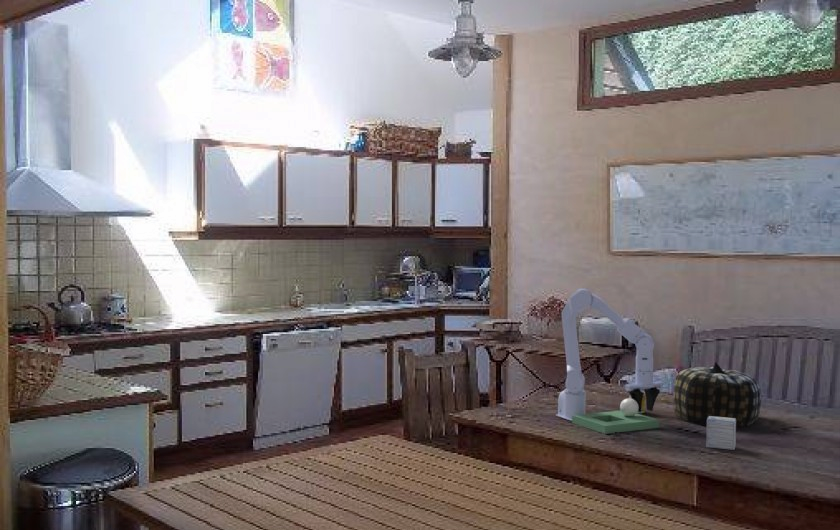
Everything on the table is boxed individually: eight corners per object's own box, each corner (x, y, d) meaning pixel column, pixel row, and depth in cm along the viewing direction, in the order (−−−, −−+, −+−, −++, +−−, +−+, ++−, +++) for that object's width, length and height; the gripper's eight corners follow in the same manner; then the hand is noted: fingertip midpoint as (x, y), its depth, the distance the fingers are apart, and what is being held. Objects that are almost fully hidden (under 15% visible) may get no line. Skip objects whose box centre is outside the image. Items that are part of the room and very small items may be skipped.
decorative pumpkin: (779, 421, 288) (780, 363, 288) (725, 432, 272) (727, 369, 271) (705, 406, 313) (707, 352, 312) (652, 415, 296) (653, 358, 296)
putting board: (572, 422, 282) (572, 415, 282) (624, 417, 292) (624, 410, 292) (604, 433, 267) (605, 425, 267) (659, 427, 277) (659, 420, 277)
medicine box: (735, 447, 252) (736, 418, 252) (734, 450, 248) (735, 421, 248) (707, 444, 255) (708, 415, 255) (706, 447, 251) (706, 418, 251)
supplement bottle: (643, 410, 304) (643, 383, 303) (645, 413, 298) (646, 386, 298) (628, 410, 304) (628, 383, 304) (630, 413, 299) (630, 385, 299)
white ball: (616, 416, 283) (615, 398, 283) (630, 412, 286) (629, 395, 285) (628, 419, 278) (627, 401, 278) (643, 416, 281) (642, 398, 280)
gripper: (635, 373, 277) (634, 415, 278) (669, 370, 284) (668, 411, 284) (621, 370, 284) (620, 411, 284) (654, 367, 290) (654, 407, 290)
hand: (643, 410), depth 285 cm, fingers open, 4 cm apart
